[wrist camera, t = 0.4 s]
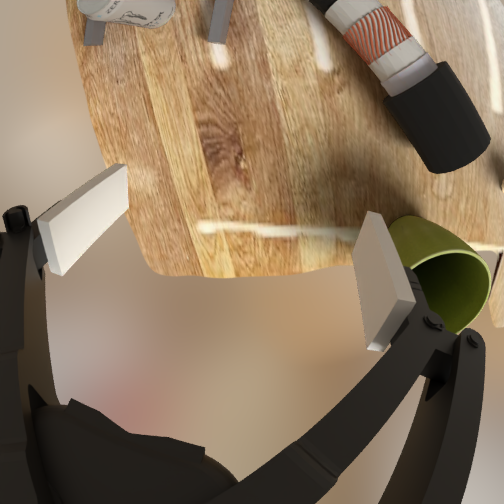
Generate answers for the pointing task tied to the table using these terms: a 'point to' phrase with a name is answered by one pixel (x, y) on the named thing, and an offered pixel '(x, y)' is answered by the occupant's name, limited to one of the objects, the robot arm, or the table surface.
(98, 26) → the guide lane
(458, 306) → the flower pot
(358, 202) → the table surface
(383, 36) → the cable
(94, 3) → the energy drink can
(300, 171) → the table surface
